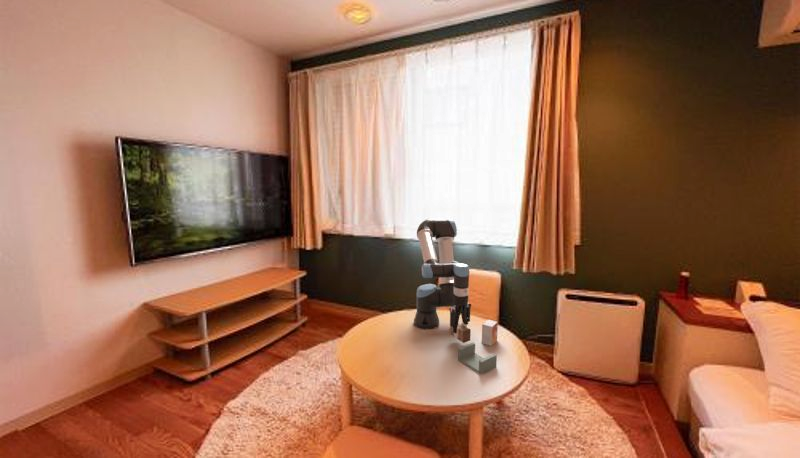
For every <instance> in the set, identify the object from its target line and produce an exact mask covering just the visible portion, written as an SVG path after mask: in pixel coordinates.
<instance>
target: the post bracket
mask: <svg viewBox="0 0 800 458" xmlns="http://www.w3.org/2000/svg"><path fill="white" fill-rule="evenodd" d="M497 359H498V355H497V354H496V353H492V354H490V355H488V356H486V357H482V356H481V355H479V354H478V353H476V343H475V342H471V343H468V344H466V345H464V346H460V347H458V349H457V361H458V362H460V363H461V364H463V365H465V366H467V367H469V368H470V369H472V370H473V371H475V372H476V373H478V374H480V375H484V374H486V373H488V372H490V371H492V370H494V369H496V368H497Z"/></svg>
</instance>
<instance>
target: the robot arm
mask: <svg viewBox="0 0 800 458" xmlns="http://www.w3.org/2000/svg"><path fill="white" fill-rule="evenodd" d="M457 231H458V230H457V225H456V222H455V220H454V219H452V218H428V219H425V220H423V221H422V222H421V223H420V224H419V225H418V227H417V230H416V237H417V240H418V241H419V244H420V250H421V254H422V258H423V264H421V276H422V278H425V279H439V278H440V282H439V283H438V286H437V285H436V284H434V283H426V284H422V285H420V286H418V287H417V289H416V313H415V316H414V318H413V325H414V326H415V327H416V328H418V329H422V330H432V329H437V328H438V327H439V326H440V318H439V315H438V313H437V308H449V312H450V313H449V327H450V326H452V327H453V332H454V337H453V338H454V339H456V340H458V336H459V327H458V323H459V321H460V316H461V321H462V322H461V323H460V324H461V325H463V326H465V327H467V326H468V325H469V322H470V321H471V309H472V303H469V288H470V287H469V286H470V283H469V282H470V272H471V271H470V266H469V265H468V264H466V263H460V262H459V261H457V260H455V259H454V250H453V249H454V248H453V242H454V240H455V237H457V234H458V232H457ZM433 238H435V242H437V244H438V255H439V258H438V257H437V252H436V249H435V244H434V241H433ZM438 259H439V261H438ZM467 328H468V327H467ZM458 341H459V340H458Z"/></svg>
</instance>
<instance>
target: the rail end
mask: <svg viewBox="0 0 800 458" xmlns="http://www.w3.org/2000/svg"><path fill="white" fill-rule="evenodd" d="M458 327H459V336H458V341H459V342H461V343H463V344H465V343H467V342H469V341H471V328H469V327H465V326H463V325H461V323H459V322H458ZM449 329H450V331H449V332H450V333H449V335H450V336H451V337H453V338H454V332H453V327H452V326H450V325H449Z"/></svg>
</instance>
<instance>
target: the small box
mask: <svg viewBox="0 0 800 458" xmlns="http://www.w3.org/2000/svg"><path fill="white" fill-rule="evenodd" d="M498 324H499V322H498V321H495V320H492V319H486V321H484V323H482V325H481V326H482V327H481V344H484V345H487V346H490V347H493V345H494V344H495V343H496V342H497V341H498V326H499V325H498Z"/></svg>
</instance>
